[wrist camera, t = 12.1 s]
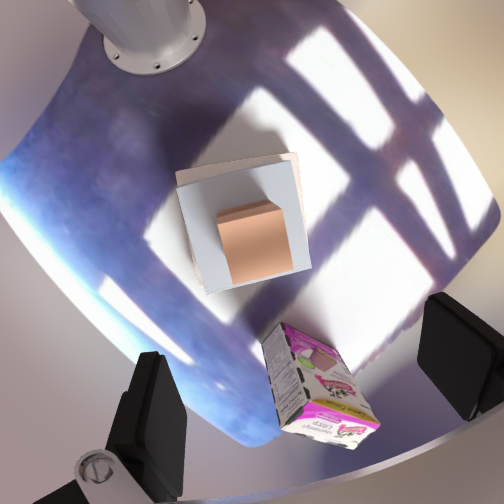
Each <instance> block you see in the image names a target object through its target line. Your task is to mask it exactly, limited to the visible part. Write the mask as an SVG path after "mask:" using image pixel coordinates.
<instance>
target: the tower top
mask: <svg viewBox="0 0 504 504" xmlns="http://www.w3.org/2000/svg"><path fill="white" fill-rule="evenodd" d="M176 191H177V195H178V198H179V202H180V206H181V209H182V213H183V216H184V220H185V224H186V227H187V231H188V234H189V238H190V241H191V244H192V248H193V251H194V255H195V258H196V261H197V265H198V268H199V271H200V274H201V278H202V281H203V284H204V287H205V291H206V294H211V293H215V292H219V291H224V290H228V289H232V288H236V287H240V286H244V285H248V284H252V283H256V282H260V281H264V280H268V279H271V278H275V277H279V276H283V275H287V274H291V273H295V272H298V271H302V270H306V269H310V268H312V267H311V261H310V255H309V250H308V244H307V239H306V233H305V228H304V223H303V217H302V212H301V207H300V202H299V197H298V192H297V187H296V182H295V178H294V173H293V168H292V164H291V160H281V161H276V162H271V163H267V164H262V165H258V166H253V167H249V168H245V169H241V170H236V171H232V172H228V173H224V174H220V175H216V176H212V177H208V178H205V179H201V180H197V181H193V182H190V183H186V184H182V185H180V186H179V187H177V188H176ZM268 199H269V200H270V201H272V202H273V203H274V204H276V205H277V206H279V207H280V208H281V209H282V210H283V215H284V220H285V225H286V231H287V236H288V241H289V246H290V251H291V257H292V262H293V267H294V270H290V271H286V272H282V273H278V274H275V275H271V276H267V277H263V278H259V279H255V280H251V281H247V282H243V283H239V284H235V285H233V283H232V279H231V275H230V271H229V267H228V264H227V260H226V256H225V252H224V248H223V244H222V240H221V236H220V233H219V229H218V225H217V212H218V211H222V210H226V209H230V208H234V207H238V206H242V205H246V204H251V203H255V202H259V201H263V200H268Z"/></svg>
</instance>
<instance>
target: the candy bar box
mask: <svg viewBox="0 0 504 504" xmlns="http://www.w3.org/2000/svg"><path fill="white" fill-rule="evenodd" d="M261 346H262V350H263V355H264V359H265V363H266V368H267V372H268V377H269V380H270V385H271V390H272V394H273V398H274V403H275V407H276V412H277V416H278V420H279V425H280V429H281V430H284V431H287V432H291V433H294V434H297V435H300V436H304V437H308V438H311V439H314V440H318V441H321V442H325V443H329V444H333V445H337V446H341V447H345V448H349V449H355V448H356V447H357V446H358V445H359V444H360V443H361V442H362V441H364V440H365V439H366V438H367V437H368V436H369V435H370V434H371V433H373V432H374V431H375V430H376V429H377V428H378V427H379V426H380V423H379V421H378V420H377V418H376V416H375V414H374V412H373V411H372V409H371V407H370V405H369V404H368V402H367V400H366V399H365V397H364V395H363V394H362V392H361V390H360V388H359V387H358V385H357V384H356V382H355V380H354V378H353V376H352V375H351V373H350V371H349V370H348V368H347V366H346V365H345V363H344V361H343V359H342V358H341V356H340V354H339V352H338V351H337V350H335V349H333V348H331V347H329V346H327V345H325V344H323V343H321V342H319V341H317V340H315V339H313V338H311V337H309V336H308V335H306V334H304V333H302V332H300V331H298V330H296V329H294V328H292V327H290V326H289V325H287V324H285V323H283V322H281V321H280V322H279V323H278V325H277V326H276V327H275V329H274V330H273V331H272V333H271V334H270V335H269V336H268V337H267V339H266V340H265V341H264V342H263V344H262V345H261Z"/></svg>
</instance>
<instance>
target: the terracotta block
mask: <svg viewBox="0 0 504 504" xmlns="http://www.w3.org/2000/svg"><path fill="white" fill-rule="evenodd" d="M217 225H218V229H219V233H220V236H221V240H222V244H223V248H224V252H225V256H226V260H227V264H228V267H229V271H230V275H231V279H232V283H233V285H235V284H239V283H243V282H247V281H251V280H255V279H259V278H263V277H267V276H271V275H275V274H278V273H282V272H286V271H290V270H294V267H293V262H292V257H291V251H290V246H289V241H288V236H287V231H286V225H285V220H284V215H283V210H282V209H281V208H280V207H279V206H277V205H276V204H274V203H273V202H272V201H270V200H269V199H268V200H263V201H259V202H255V203H251V204H246V205H242V206H238V207H234V208H230V209H226V210H222V211H218V212H217Z"/></svg>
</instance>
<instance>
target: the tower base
mask: <svg viewBox="0 0 504 504" xmlns="http://www.w3.org/2000/svg"><path fill="white" fill-rule="evenodd" d="M281 160H291V164H292V168H293V173H294V178H295V182H296V187H297V192H298V197H299V202H300V207H301V212H302V217H303V223H304V228H305V233H306V239H307V230H306V221H305V213H304V204H303V196H302V188H301V180H300V173H299V165H298V158H297V152H290V153H282V154H275V155H267V156H260V157H253V158H247V159H241V160H234V161H228V162H222V163H217V164H211V165H206V166H200V167H195V168H190V169H185V170H180V171H176V172H175V174H176V180H177V185H178V187H179V186H180V185H182V184H186V183H190V182H193V181H197V180H201V179H205V178H208V177H212V176H216V175H220V174H224V173H228V172H232V171H236V170H241V169H245V168H249V167H253V166H258V165H262V164H267V163H271V162H276V161H281ZM184 221H185V220H184ZM185 226H186V224H185ZM186 231H187V227H186ZM187 236H188V240H189V245H190V250H191V254H192V259H193V263H194V268H195V272H196V277H197V281H198V285H199V286H201V285H204V284H203V281H202V278H201V274H200V271H199V268H198V265H197V261H196V258H195V255H194V251H193V248H192V244H191V241H190V238H189V234H188V231H187ZM307 244H308V240H307Z"/></svg>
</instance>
